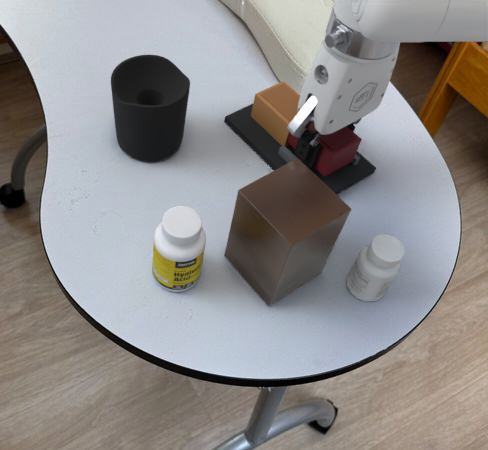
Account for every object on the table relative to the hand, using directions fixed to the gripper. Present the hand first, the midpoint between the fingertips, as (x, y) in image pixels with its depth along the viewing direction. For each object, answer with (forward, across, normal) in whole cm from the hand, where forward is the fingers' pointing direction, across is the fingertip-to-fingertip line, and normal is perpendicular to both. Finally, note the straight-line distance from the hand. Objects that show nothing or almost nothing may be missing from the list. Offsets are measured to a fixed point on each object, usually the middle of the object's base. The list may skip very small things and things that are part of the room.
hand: (320, 149), depth 75 cm
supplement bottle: (+3, -25, -4) cm, 25 cm away
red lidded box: (0, 0, 0) cm, 0 cm away
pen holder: (+3, -16, +15) cm, 22 cm away
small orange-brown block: (+2, 0, +7) cm, 7 cm away
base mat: (+3, 0, +4) cm, 5 cm away
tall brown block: (+3, -15, -9) cm, 18 cm away
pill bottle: (+3, -8, -17) cm, 19 cm away
